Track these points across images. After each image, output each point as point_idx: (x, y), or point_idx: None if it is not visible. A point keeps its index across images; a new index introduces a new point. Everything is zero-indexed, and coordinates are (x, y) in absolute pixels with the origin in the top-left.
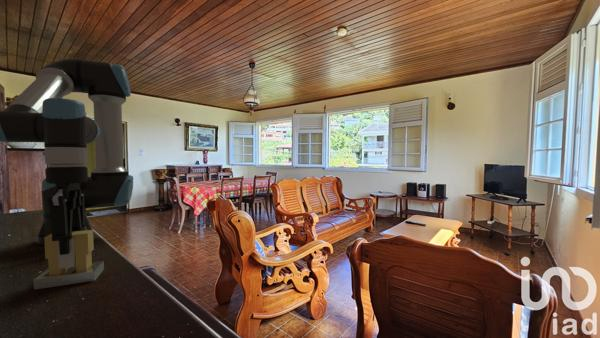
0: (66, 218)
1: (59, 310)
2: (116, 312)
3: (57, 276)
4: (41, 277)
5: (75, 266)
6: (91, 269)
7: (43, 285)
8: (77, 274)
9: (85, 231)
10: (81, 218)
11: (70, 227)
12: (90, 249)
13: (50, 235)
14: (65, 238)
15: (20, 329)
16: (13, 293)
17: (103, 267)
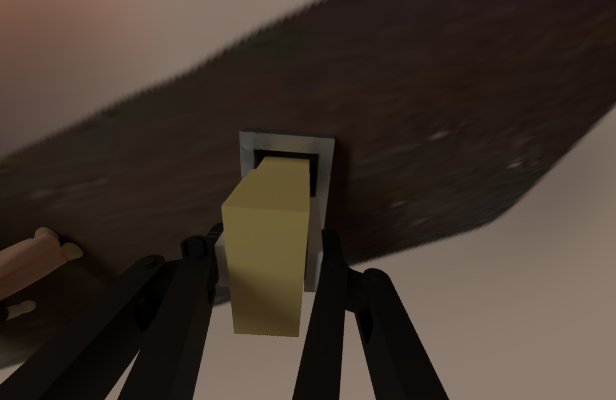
0: (409, 379)
1: (470, 168)
2: (598, 30)
3: (324, 219)
4: None
5: None
6: (312, 151)
7: None
8: (329, 179)
9: (254, 231)
10: (127, 309)
11: (336, 303)
12: (287, 175)
13: (273, 329)
14: (383, 274)
15: (503, 207)
16: None
17: (250, 128)
